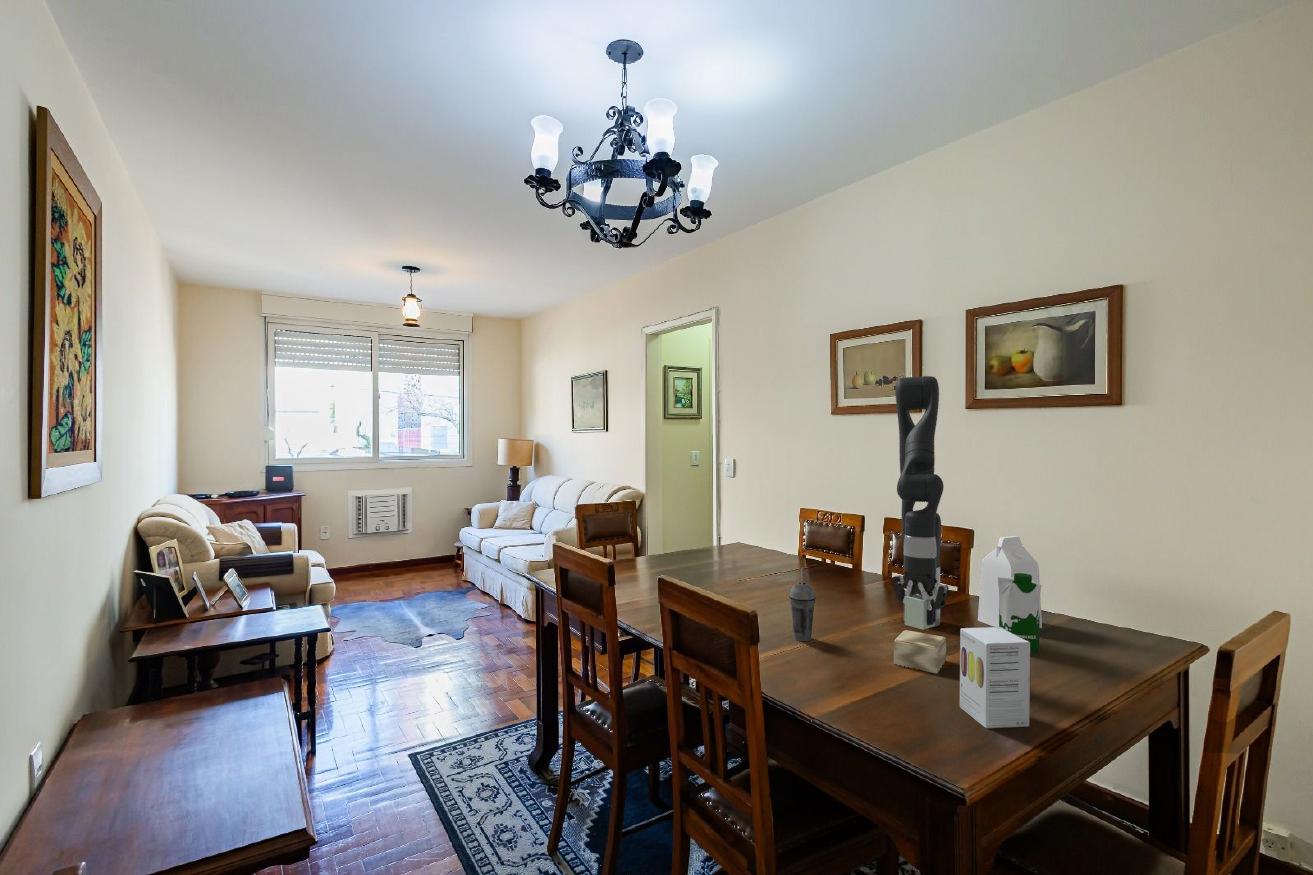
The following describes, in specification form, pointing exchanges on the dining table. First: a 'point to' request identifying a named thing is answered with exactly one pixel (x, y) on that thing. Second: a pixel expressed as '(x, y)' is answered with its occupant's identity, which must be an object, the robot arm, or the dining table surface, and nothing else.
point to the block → (916, 612)
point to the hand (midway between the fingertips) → (919, 621)
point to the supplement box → (995, 677)
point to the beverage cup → (802, 609)
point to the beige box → (920, 651)
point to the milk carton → (1020, 608)
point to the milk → (1003, 575)
